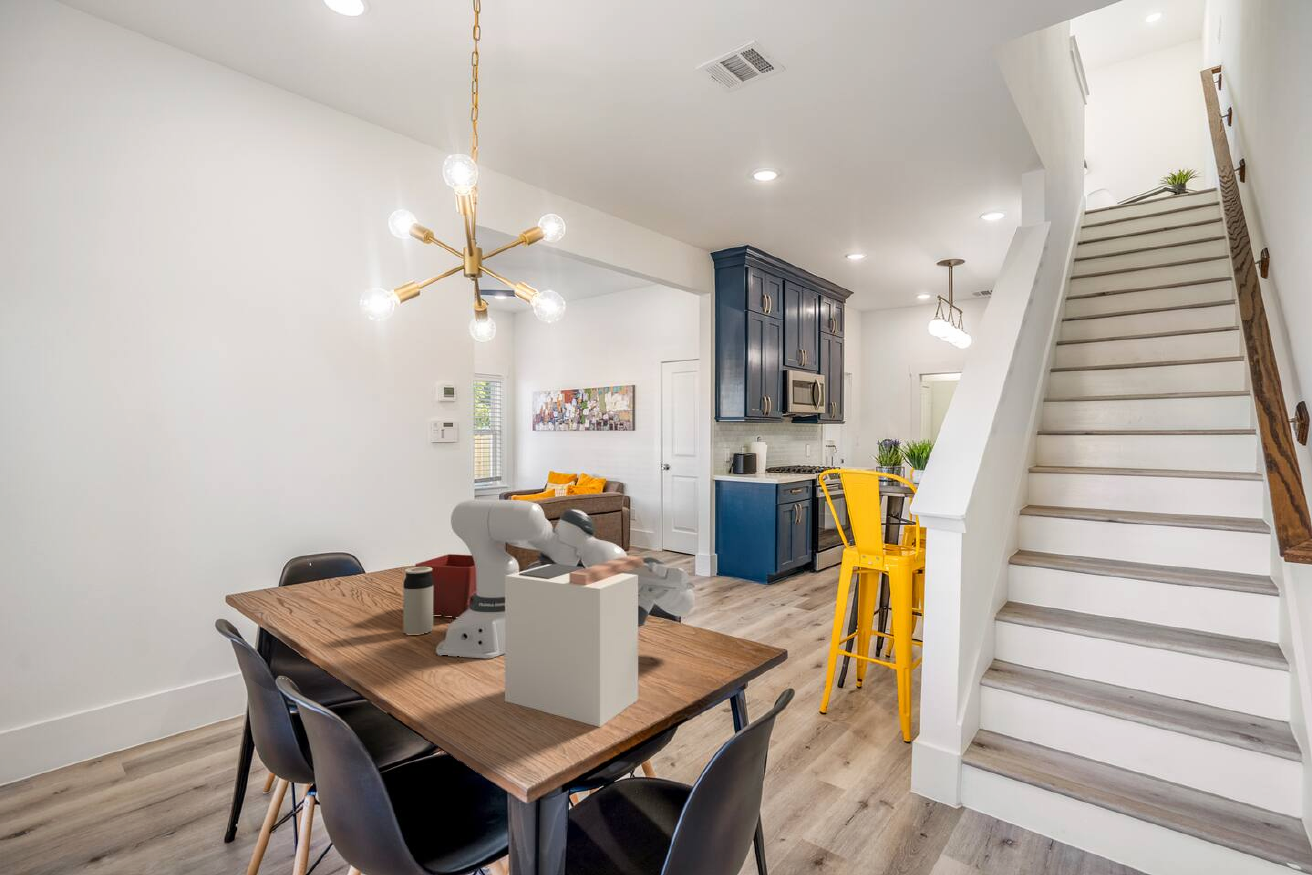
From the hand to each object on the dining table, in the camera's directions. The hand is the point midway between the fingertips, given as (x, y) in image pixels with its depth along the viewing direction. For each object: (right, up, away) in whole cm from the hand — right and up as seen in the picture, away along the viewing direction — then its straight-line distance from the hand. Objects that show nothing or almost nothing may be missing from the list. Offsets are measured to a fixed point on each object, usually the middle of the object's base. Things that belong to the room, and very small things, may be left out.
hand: (632, 563), depth 134 cm
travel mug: (-63, -28, +37) cm, 78 cm away
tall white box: (-12, -26, -10) cm, 31 cm away
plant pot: (-58, -28, +57) cm, 86 cm away
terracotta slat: (-5, 0, -8) cm, 9 cm away
